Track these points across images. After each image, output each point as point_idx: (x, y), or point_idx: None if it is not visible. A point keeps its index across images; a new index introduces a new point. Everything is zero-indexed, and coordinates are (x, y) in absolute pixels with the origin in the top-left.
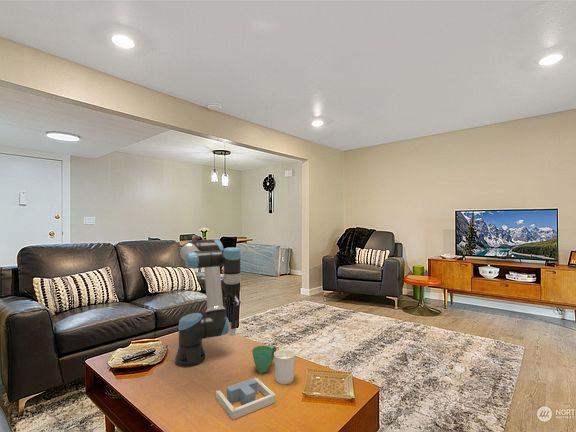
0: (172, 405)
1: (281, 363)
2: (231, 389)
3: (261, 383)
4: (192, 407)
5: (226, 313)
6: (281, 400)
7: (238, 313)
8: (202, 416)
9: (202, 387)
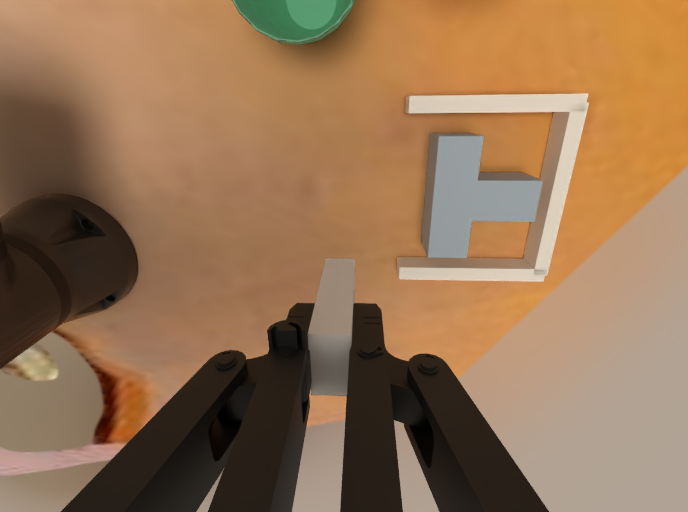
0: None
1: None
2: (457, 250)
3: (470, 102)
4: (394, 335)
5: (214, 452)
6: (582, 65)
7: (510, 462)
8: (453, 328)
9: (305, 280)
